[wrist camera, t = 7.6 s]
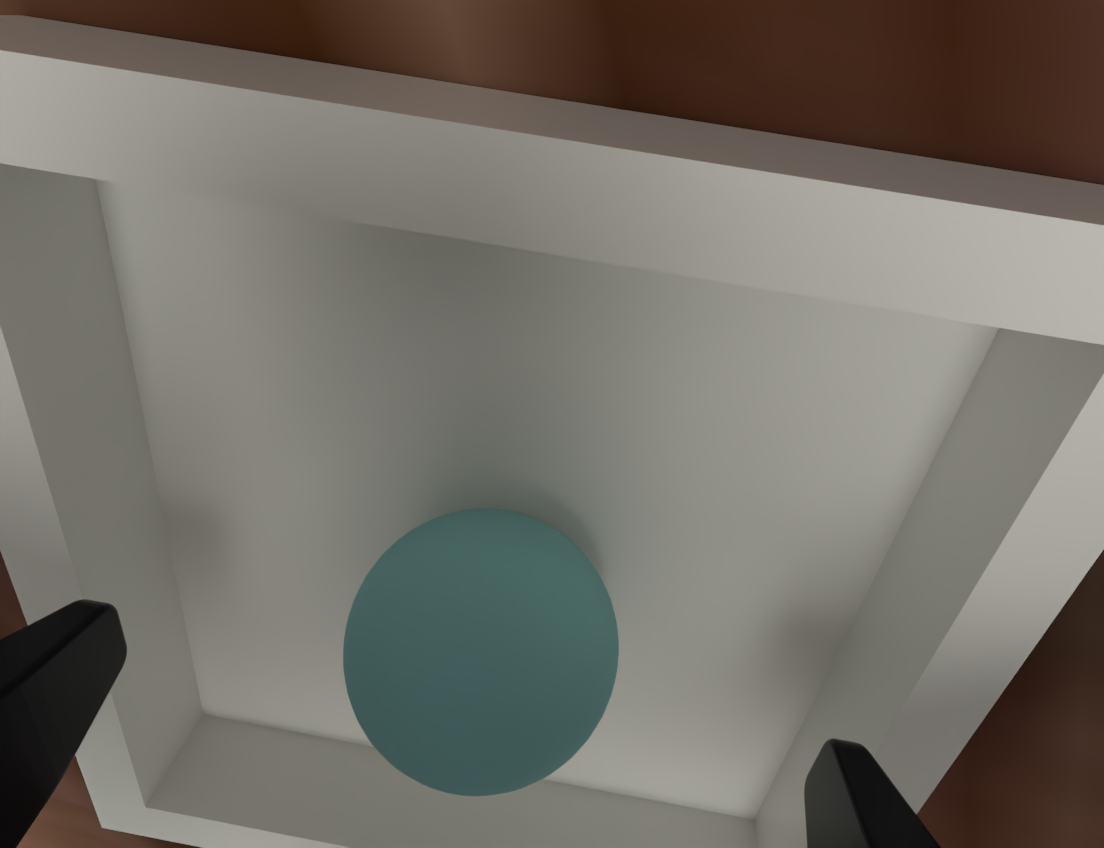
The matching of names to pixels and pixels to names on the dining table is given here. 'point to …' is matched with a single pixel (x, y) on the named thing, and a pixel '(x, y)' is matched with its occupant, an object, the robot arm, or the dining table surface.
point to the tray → (526, 429)
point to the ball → (480, 652)
